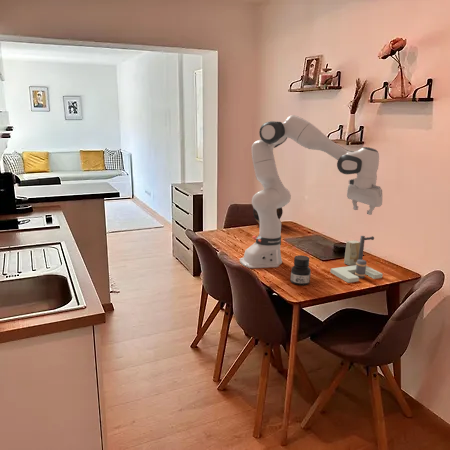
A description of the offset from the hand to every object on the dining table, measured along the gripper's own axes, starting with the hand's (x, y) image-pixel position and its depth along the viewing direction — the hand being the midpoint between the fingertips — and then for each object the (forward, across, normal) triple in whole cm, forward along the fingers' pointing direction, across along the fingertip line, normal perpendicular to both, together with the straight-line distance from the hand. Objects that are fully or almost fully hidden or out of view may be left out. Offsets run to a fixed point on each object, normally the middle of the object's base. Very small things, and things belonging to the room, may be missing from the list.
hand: (362, 212), depth 196 cm
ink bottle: (+32, +1, +31) cm, 45 cm away
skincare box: (+32, +12, -8) cm, 35 cm away
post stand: (+31, -1, -1) cm, 31 cm away
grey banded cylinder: (+31, -4, 0) cm, 32 cm away
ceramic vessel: (+33, +97, -5) cm, 103 cm away
